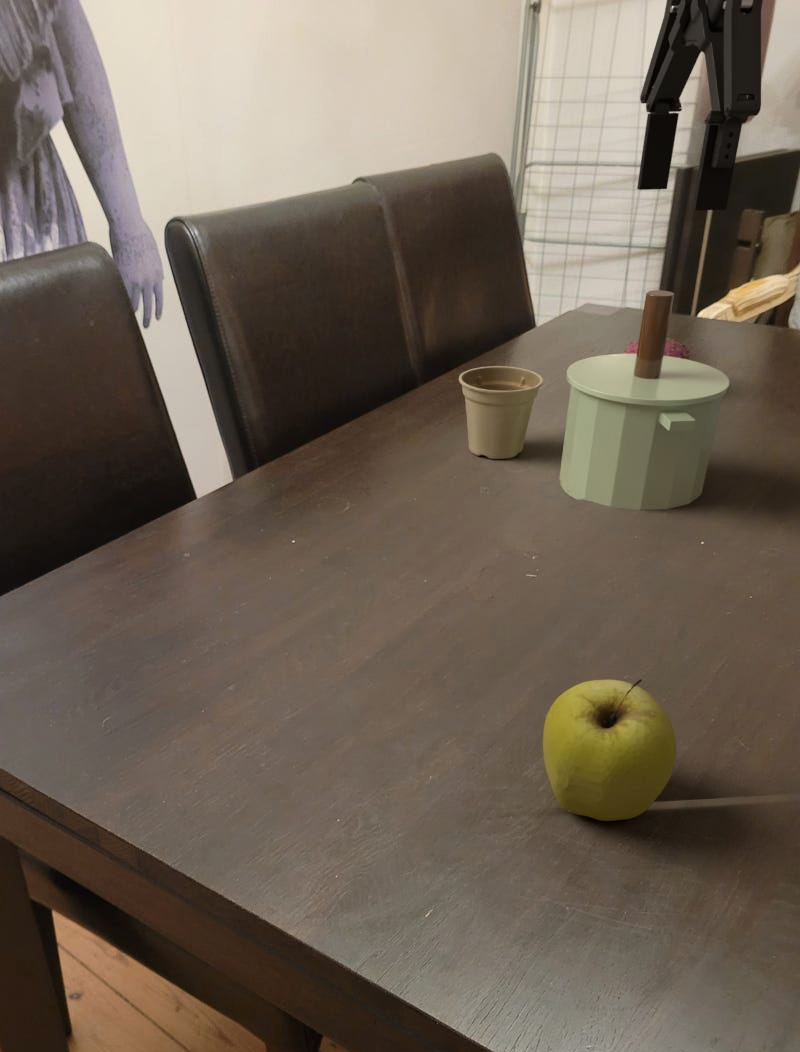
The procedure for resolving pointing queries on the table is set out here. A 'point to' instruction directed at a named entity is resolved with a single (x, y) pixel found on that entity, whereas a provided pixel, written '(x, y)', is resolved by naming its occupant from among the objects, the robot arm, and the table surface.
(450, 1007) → the table surface
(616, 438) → the pot
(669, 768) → the apple
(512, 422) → the flower pot
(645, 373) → the pot lid
